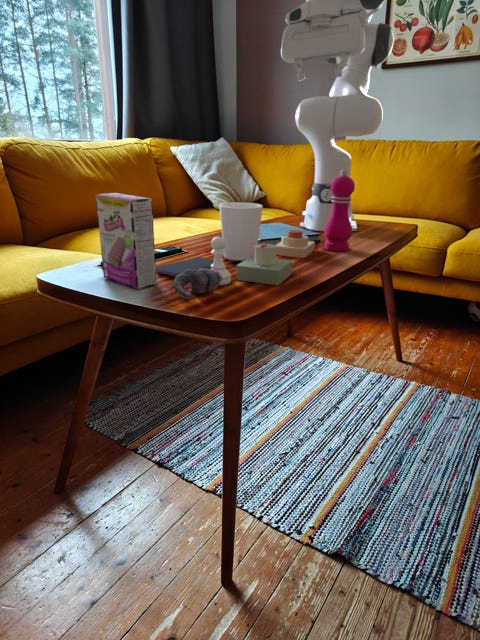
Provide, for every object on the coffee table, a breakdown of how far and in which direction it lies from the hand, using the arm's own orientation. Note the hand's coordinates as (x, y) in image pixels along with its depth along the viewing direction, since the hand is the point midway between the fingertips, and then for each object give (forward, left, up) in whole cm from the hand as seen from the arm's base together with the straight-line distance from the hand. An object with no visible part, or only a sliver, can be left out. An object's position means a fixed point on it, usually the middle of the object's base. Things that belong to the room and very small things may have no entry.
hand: (319, 78), depth 109 cm
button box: (+11, 0, -41) cm, 42 cm away
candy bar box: (+51, -22, -41) cm, 69 cm away
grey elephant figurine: (+51, -6, -41) cm, 66 cm away
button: (+11, 0, -37) cm, 39 cm away
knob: (+36, +1, -38) cm, 52 cm away
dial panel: (+36, +1, -41) cm, 54 cm away
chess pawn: (+43, -6, -41) cm, 60 cm away
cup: (+25, -9, -41) cm, 49 cm away
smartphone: (+37, -16, -41) cm, 58 cm away
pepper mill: (+2, +9, -41) cm, 42 cm away
